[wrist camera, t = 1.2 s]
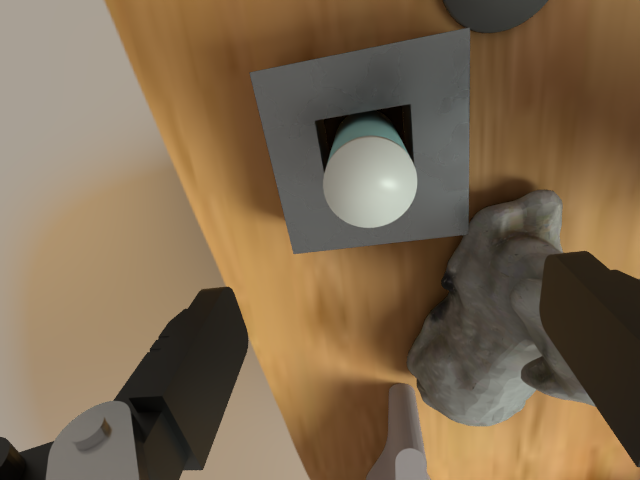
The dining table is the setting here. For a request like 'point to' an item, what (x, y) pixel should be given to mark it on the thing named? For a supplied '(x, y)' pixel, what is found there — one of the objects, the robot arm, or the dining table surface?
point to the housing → (361, 96)
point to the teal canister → (369, 172)
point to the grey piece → (402, 440)
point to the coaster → (492, 13)
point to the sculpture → (495, 319)
